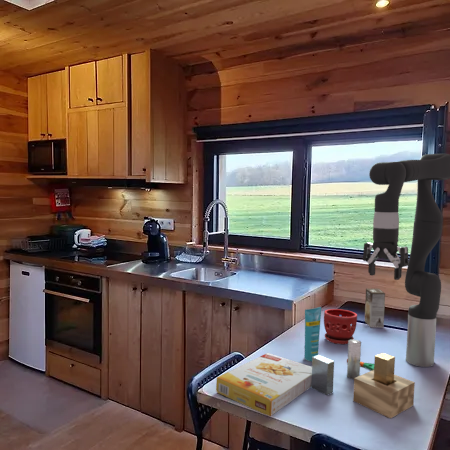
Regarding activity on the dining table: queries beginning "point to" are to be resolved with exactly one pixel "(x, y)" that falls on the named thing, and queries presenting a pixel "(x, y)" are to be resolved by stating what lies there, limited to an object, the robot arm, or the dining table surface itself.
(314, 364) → the brushed grey-blue block
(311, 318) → the tube
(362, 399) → the socket block
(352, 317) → the plant pot
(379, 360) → the square bit
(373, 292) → the coffee box
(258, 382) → the cereal box
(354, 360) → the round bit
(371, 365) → the magnifying glass
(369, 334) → the dining table surface
